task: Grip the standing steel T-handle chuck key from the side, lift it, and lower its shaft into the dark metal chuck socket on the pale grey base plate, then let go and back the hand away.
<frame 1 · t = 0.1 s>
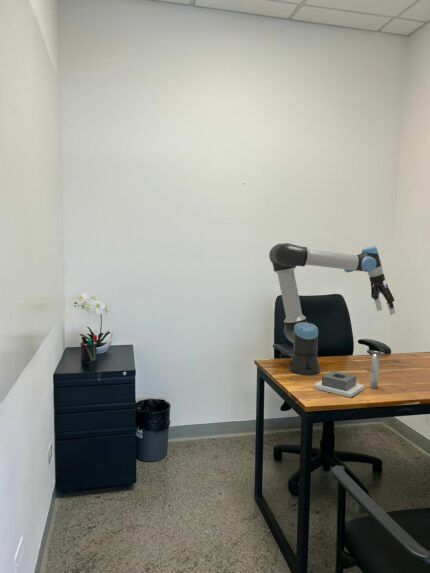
hand: (386, 312, 217), 27 cm above the table, tool tilted 20°, fingers open, 13 cm apart
chuck block: (338, 388, 176), on the table
chuck key: (373, 387, 178), on the table
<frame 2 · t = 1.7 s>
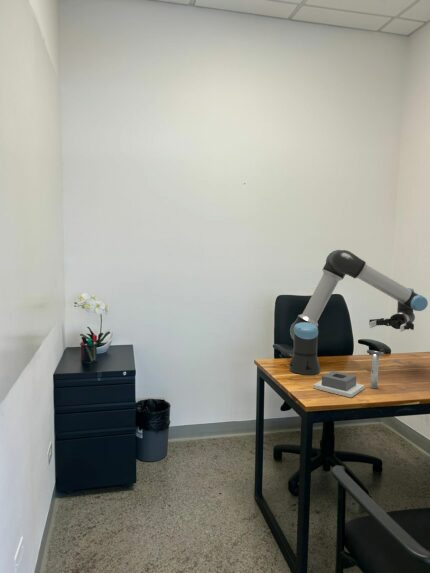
hand: (385, 326, 186), 25 cm above the table, tool horizontal, fingers open, 13 cm apart
nothing on the table moved.
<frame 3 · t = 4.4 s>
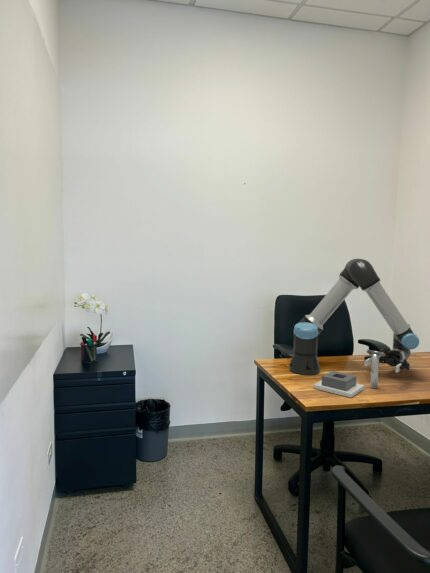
hand: (380, 366, 181), 8 cm above the table, tool horizontal, fingers open, 13 cm apart
nothing on the table moved.
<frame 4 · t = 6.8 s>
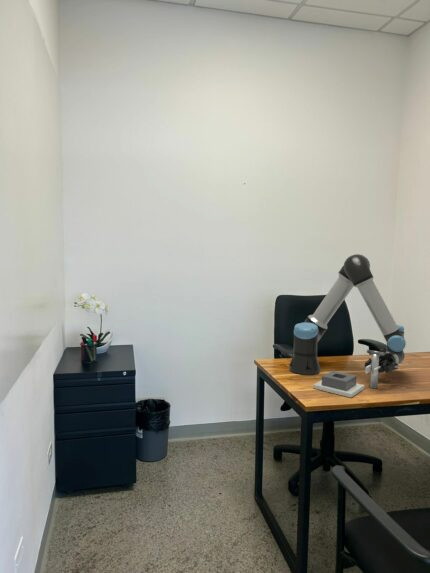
hand: (370, 371, 173), 8 cm above the table, tool horizontal, fingers closed on chuck key, 3 cm apart
chuck key: (373, 387, 178), on the table, touching gripper
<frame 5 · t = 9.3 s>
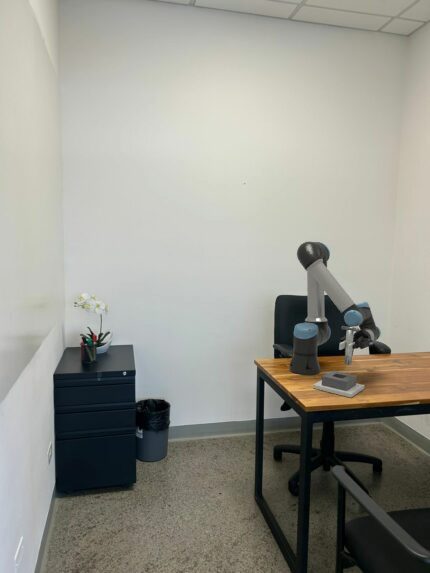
hand: (344, 347, 169), 19 cm above the table, tool horizontal, fingers closed on chuck key, 3 cm apart
chuck key: (348, 363, 175), point 11 cm above the table, touching gripper
when the fingers open (11 cm above the table, at t = 11.9 s): chuck key drops 1 cm, resting on chuck block.
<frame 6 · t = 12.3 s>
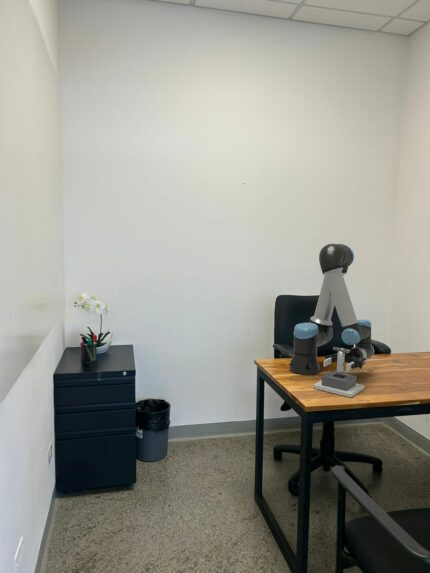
hand: (335, 365, 172), 11 cm above the table, tool horizontal, fingers open, 9 cm apart
chuck key: (339, 384, 176), point 2 cm above the table, touching chuck block
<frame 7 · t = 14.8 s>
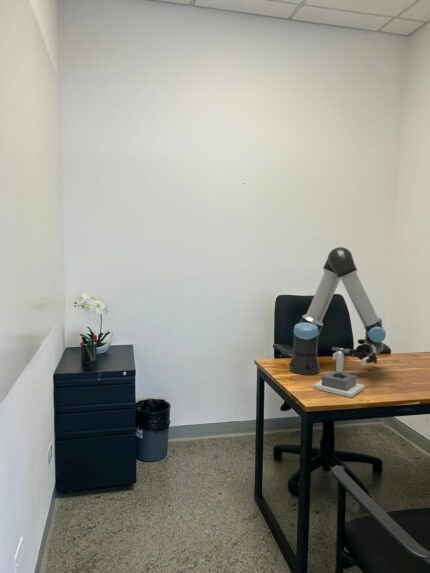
hand: (347, 359, 182), 11 cm above the table, tool horizontal, fingers open, 13 cm apart
nothing on the table moved.
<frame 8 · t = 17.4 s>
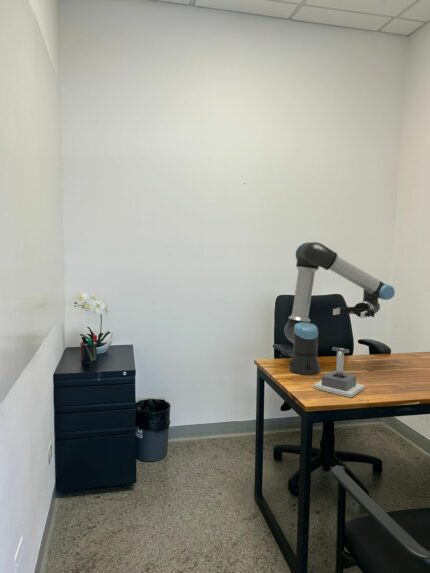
hand: (347, 313, 193), 30 cm above the table, tool horizontal, fingers open, 13 cm apart
nothing on the table moved.
at the end: chuck key 0.1 cm off-centre on the chuck block, point 1.5 cm above the chuck block's base; chuck key tilted 0°; the gripper is holding nothing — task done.
